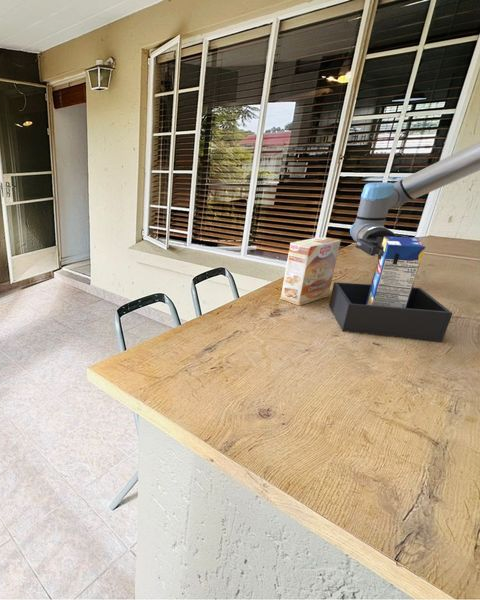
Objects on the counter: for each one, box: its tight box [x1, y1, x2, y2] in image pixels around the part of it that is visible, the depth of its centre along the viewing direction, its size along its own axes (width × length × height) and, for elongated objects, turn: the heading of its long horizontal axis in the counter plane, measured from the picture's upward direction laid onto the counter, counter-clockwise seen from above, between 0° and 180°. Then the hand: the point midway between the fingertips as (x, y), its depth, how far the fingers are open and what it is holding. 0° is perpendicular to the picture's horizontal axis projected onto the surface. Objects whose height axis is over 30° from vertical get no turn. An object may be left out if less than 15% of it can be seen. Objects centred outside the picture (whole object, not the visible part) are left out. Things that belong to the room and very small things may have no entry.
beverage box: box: [366, 236, 426, 308], centre depth 94 cm, size 7×11×22 cm, turn 146°
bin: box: [328, 281, 453, 343], centre depth 97 cm, size 21×19×8 cm
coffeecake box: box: [280, 236, 342, 306], centre depth 114 cm, size 15×7×20 cm, turn 114°
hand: (405, 259), depth 87 cm, fingers closed on beverage box, 3 cm apart
